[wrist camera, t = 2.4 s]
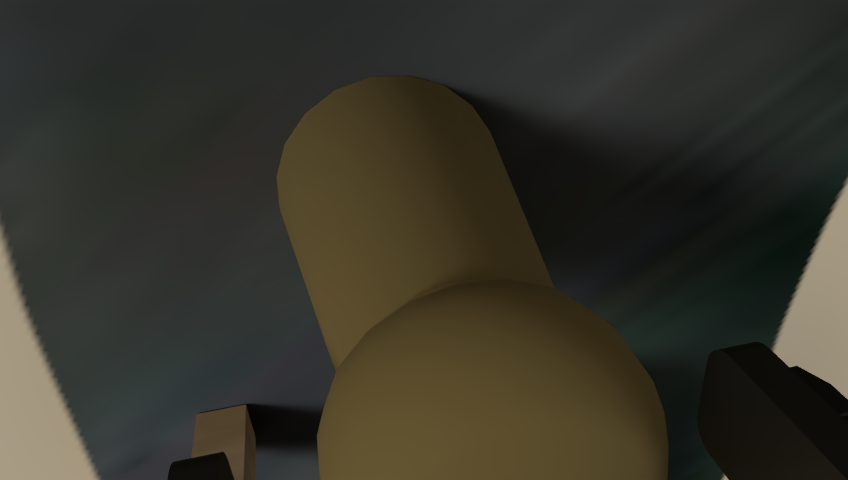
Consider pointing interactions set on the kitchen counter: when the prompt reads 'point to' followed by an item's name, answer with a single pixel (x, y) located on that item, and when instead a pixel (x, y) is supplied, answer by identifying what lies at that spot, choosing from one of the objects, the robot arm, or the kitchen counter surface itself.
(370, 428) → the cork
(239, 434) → the birch stool
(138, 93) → the kitchen counter surface
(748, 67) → the kitchen counter surface
